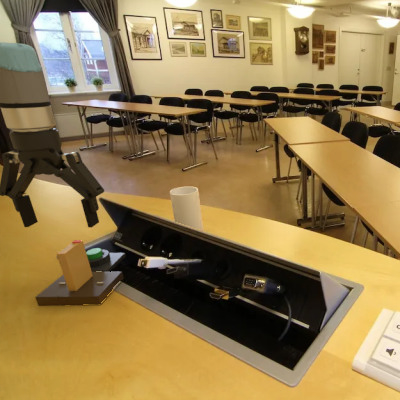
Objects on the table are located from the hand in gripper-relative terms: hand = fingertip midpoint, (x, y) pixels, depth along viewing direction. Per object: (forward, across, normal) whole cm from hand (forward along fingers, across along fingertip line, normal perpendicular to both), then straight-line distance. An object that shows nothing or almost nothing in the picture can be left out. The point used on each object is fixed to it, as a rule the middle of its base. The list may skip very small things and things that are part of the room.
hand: (62, 224), depth 71 cm
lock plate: (+18, 0, 0) cm, 18 cm away
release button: (+16, +4, -12) cm, 20 cm away
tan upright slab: (+16, 0, 0) cm, 16 cm away
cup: (+18, -16, -29) cm, 38 cm away
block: (+18, +4, -12) cm, 22 cm away
